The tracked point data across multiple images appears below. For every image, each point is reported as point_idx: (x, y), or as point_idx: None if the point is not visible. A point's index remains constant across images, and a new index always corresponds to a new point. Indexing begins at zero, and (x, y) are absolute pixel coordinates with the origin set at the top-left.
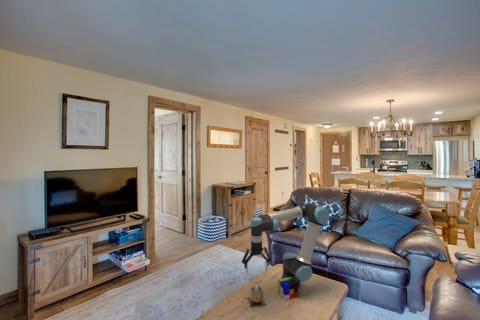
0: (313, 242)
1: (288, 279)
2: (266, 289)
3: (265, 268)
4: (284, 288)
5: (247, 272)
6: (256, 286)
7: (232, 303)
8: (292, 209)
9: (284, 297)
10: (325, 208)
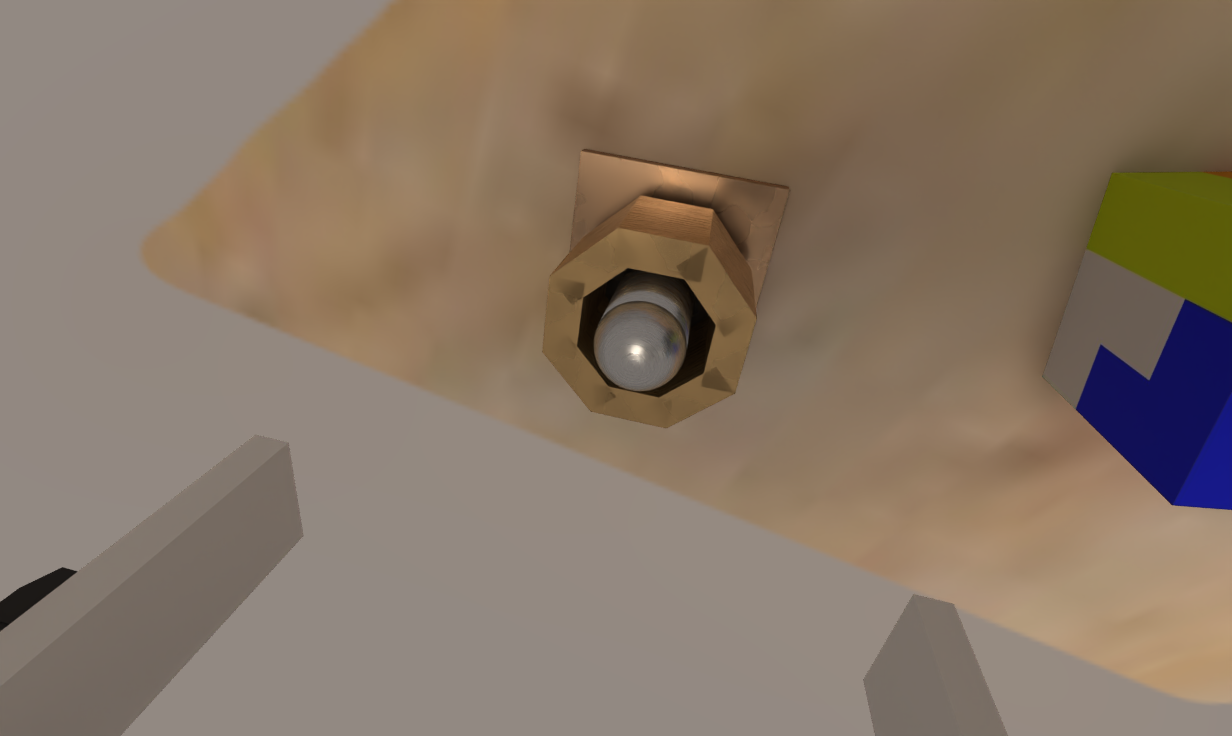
0: None
1: None
2: None
3: (924, 682)
4: (1146, 439)
5: (257, 569)
6: (623, 381)
7: (373, 169)
8: None
9: (1062, 366)
10: None
